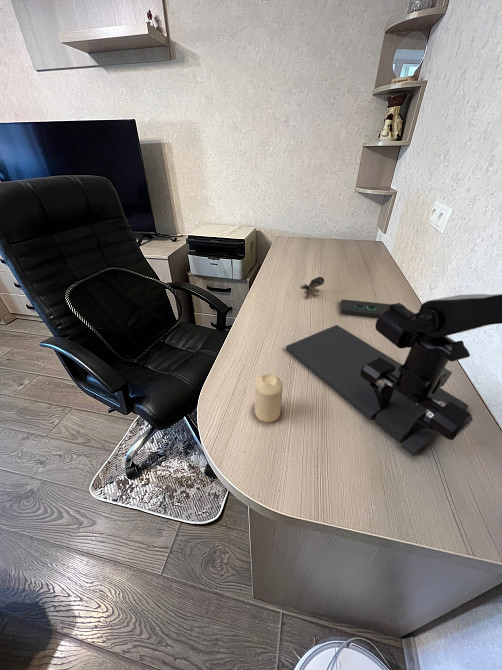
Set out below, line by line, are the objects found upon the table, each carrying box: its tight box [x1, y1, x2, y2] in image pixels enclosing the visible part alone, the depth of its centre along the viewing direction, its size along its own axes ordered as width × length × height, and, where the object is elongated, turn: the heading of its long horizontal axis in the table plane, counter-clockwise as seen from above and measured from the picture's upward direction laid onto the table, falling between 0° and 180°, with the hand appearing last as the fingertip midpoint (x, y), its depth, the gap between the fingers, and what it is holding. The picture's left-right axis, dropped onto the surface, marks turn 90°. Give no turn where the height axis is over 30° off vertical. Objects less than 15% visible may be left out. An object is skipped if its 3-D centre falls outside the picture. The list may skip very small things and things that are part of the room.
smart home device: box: [340, 299, 392, 319], centre depth 95 cm, size 8×2×20 cm
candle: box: [254, 373, 284, 423], centre depth 57 cm, size 6×6×10 cm
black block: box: [373, 402, 417, 444], centre depth 57 cm, size 6×6×2 cm
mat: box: [285, 324, 470, 457], centre depth 69 cm, size 38×20×2 cm, turn 33°
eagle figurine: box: [299, 276, 325, 299], centre depth 105 cm, size 8×7×9 cm
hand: (396, 421), depth 57 cm, fingers closed on black block, 6 cm apart
